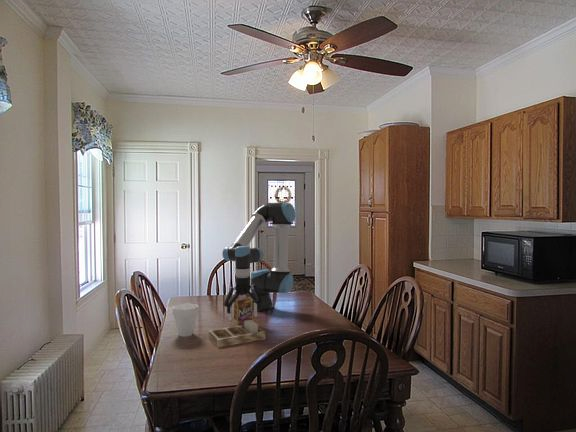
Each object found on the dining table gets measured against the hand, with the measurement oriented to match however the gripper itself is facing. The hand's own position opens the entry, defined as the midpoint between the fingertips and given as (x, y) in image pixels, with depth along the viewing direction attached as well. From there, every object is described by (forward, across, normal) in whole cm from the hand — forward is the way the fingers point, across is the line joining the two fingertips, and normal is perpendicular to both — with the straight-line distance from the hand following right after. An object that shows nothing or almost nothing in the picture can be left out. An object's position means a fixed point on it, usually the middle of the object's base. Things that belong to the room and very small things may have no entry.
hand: (243, 317), depth 198 cm
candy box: (+6, 0, 0) cm, 6 cm away
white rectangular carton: (+4, +2, +15) cm, 16 cm away
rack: (+5, +9, +15) cm, 18 cm away
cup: (+6, +28, -5) cm, 29 cm away
